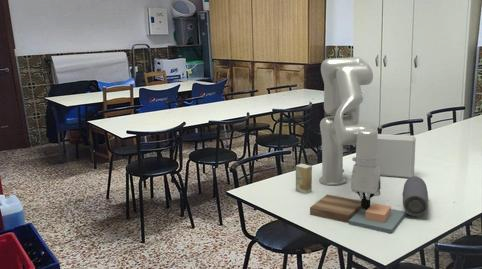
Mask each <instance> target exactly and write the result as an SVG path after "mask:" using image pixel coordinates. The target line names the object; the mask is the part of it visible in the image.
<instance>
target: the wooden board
mask: <svg viewBox="0 0 482 269" xmlns="http://www.w3.org/2000/svg"><path fill="white" fill-rule="evenodd" d="M361 208H362V206H361V199H353V198H348V197H342V196H339V195H338V196H337V195H331V194H326V195H324V196H323V197H322V198H320V199H319V200H317V201H316V202H315V203H314V204H312V205H311V206H310V207H309V215H310V216H316V217H320V218H323V219H329V220H332V221H338V222H342V223H347V224H349V220H350V219H351V218H352V217H353V216H354V215H355V214H356V213H357V212H358V211H359V210H360V209H361Z"/></svg>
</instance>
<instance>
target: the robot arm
mask: <svg viewBox="0 0 482 269" xmlns="http://www.w3.org/2000/svg"><path fill="white" fill-rule="evenodd" d="M320 74H321V78H322V81H323V84H324V85H323V87H324V88H323V110H324V112H325V113H326V114H327V115H332V116H325V117H324V118H322V119H321V120H320V123H319V129H320V135H321V153H322V154H321V156H322V157H321V158H322V159H321V160H322V161H321V167H322V169H321V172H322V173H321V174H322V176H320V177H319V178H318V182H319V183H320V184H322V185H326V186H341V185H344V184H346V182H347V178H345V177H344V176H343V174H344V172H345V170H344V162H343V160H344V159H343V158H344V156H343V155H344V154H343V153H344V152H343V151H344V146H353V145H355V156H354V157H352V159H351V160H352V162H355V163H354V164H353V167H352V173H351V180H350V188H351V192H353V193H354V194H357V195H358V196H359V199H360V201H361V206H362V209H365V210H367V209H368V208H369V207H370V205H371V199H372V198H374V197H379V196H380V195H381V188H382V186H381V184H382V183H381V176H380V171H379V166H378V165H377V139H378V134H379V133H378V131H377V130H376V129H374V128H373V126H372V125H370V124H359V123H360V122H359V121H360V105H361V104H362V103H363V101H364V97H363V93H362V89H361V88H362V87H361V86H368V85H370V84H372V82H373V78H374V72H373V69H372V68H371V66H370V64H369V63H368V62H366V61H365V60H363V58H361V57H356V56H353V57H352V56H350V57H333V58H326V59H324V60H323V61H322V63H321V65H320ZM344 114H345V115H344ZM346 114H347V115H346Z"/></svg>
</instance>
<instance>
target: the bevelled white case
mask: <svg viewBox="0 0 482 269" xmlns="http://www.w3.org/2000/svg"><path fill="white" fill-rule="evenodd" d="M377 134H378V139H377V165H378V166H379V171H380V177H391V178H392V177H394V178H401V179H402V178H403V179H408V178H410V177H414V176H415V164H416V163H415V162H416V161H415V160H416V158H415V157H416V139H417V138H416V137H415V136H414V135H412V134H411V135H409V134H408V135H407V134H386V133H385V134H384V133H377Z"/></svg>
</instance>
